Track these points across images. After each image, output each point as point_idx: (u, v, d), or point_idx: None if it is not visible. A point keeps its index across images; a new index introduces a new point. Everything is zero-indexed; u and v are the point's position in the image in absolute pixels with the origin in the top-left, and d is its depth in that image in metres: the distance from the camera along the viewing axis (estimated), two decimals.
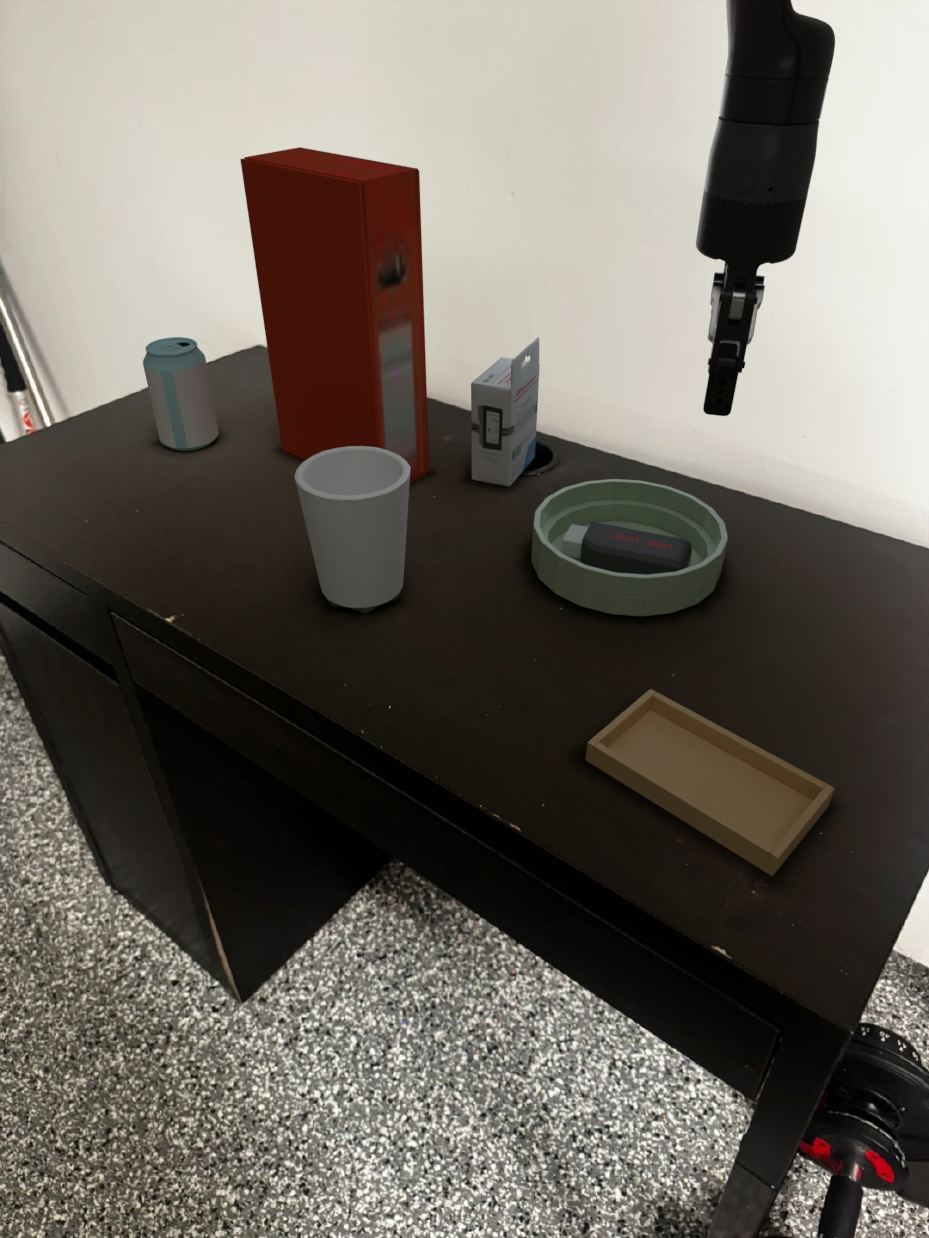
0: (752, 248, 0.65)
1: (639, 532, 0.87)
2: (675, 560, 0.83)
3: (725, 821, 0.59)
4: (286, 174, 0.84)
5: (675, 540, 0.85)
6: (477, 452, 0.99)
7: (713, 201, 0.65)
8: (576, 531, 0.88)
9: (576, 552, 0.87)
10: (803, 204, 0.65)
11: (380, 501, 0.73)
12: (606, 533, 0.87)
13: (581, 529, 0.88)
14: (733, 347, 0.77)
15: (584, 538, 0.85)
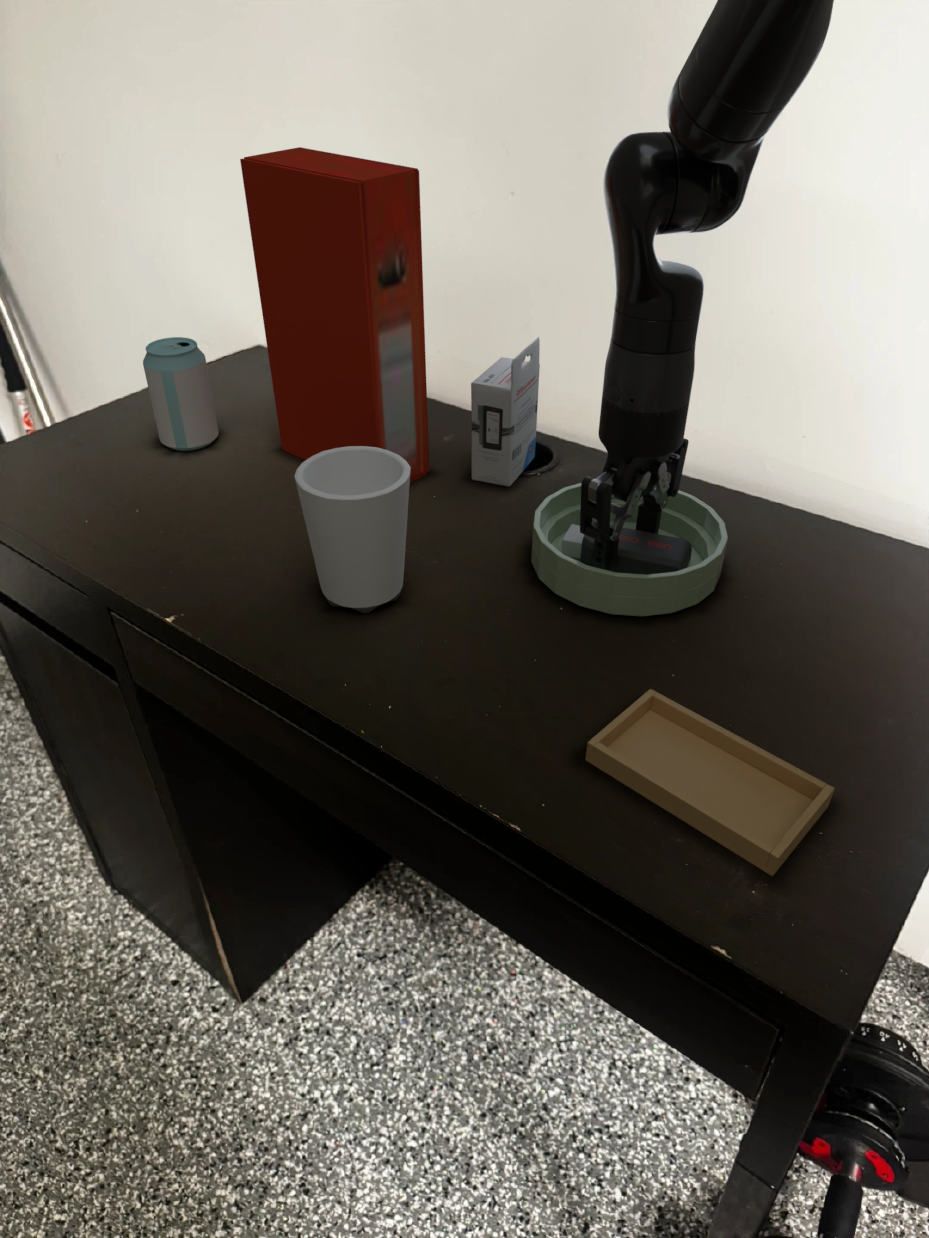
0: (621, 442, 0.76)
1: (639, 532, 0.87)
2: (675, 560, 0.83)
3: (725, 821, 0.59)
4: (286, 174, 0.84)
5: (675, 540, 0.85)
6: (477, 452, 0.99)
7: (602, 397, 0.77)
8: (576, 531, 0.88)
9: (576, 552, 0.87)
10: (672, 415, 0.75)
11: (380, 501, 0.73)
12: None
13: None
14: (653, 519, 0.87)
15: (584, 538, 0.85)
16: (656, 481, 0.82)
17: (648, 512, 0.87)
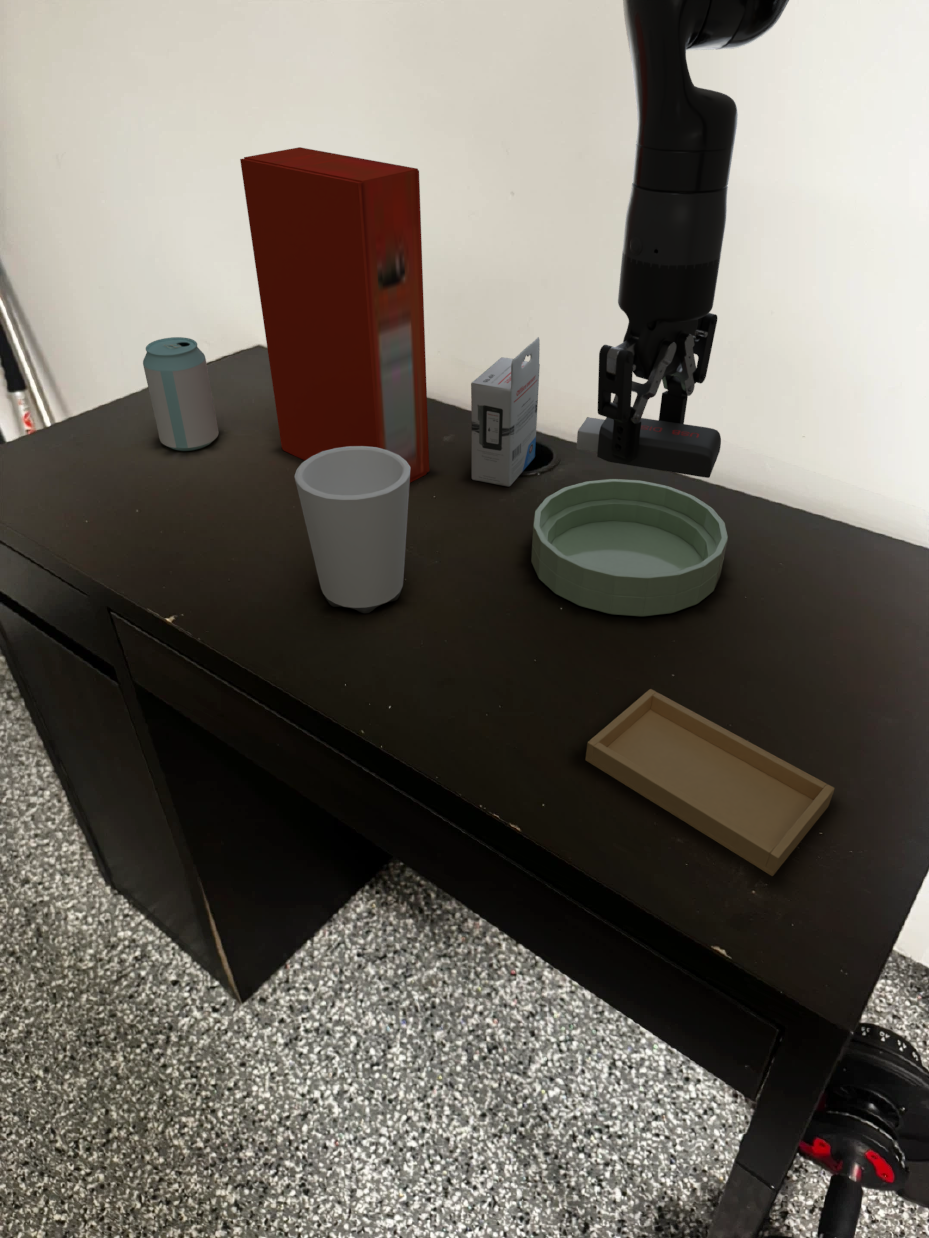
0: (643, 304, 0.68)
1: (662, 422, 0.78)
2: (703, 447, 0.75)
3: (725, 821, 0.59)
4: (286, 174, 0.84)
5: (703, 429, 0.77)
6: (477, 452, 0.99)
7: (622, 256, 0.69)
8: (593, 423, 0.80)
9: (593, 445, 0.79)
10: (701, 269, 0.66)
11: (380, 501, 0.73)
12: None
13: (598, 421, 0.80)
14: (678, 408, 0.78)
15: (602, 427, 0.77)
16: (682, 358, 0.74)
17: (672, 400, 0.78)
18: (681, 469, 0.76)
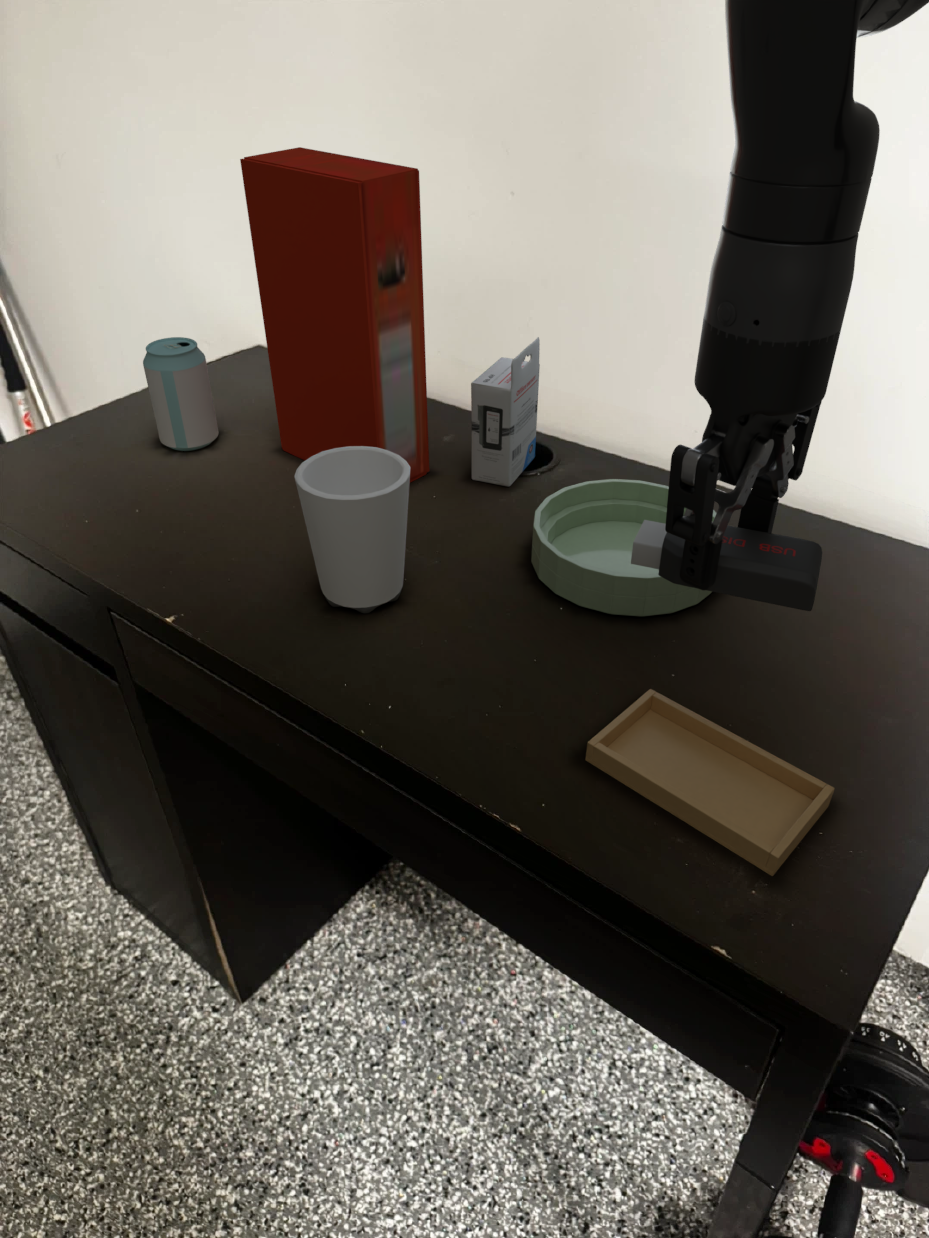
0: (734, 392, 0.50)
1: (745, 531, 0.60)
2: (804, 572, 0.56)
3: (725, 821, 0.59)
4: (286, 174, 0.84)
5: (799, 542, 0.59)
6: (477, 452, 0.99)
7: (703, 324, 0.51)
8: (652, 530, 0.61)
9: (653, 560, 0.60)
10: (817, 347, 0.48)
11: (380, 501, 0.73)
12: None
13: (659, 527, 0.61)
14: (765, 513, 0.60)
15: (666, 539, 0.59)
16: (778, 455, 0.55)
17: (759, 502, 0.60)
18: (773, 598, 0.57)
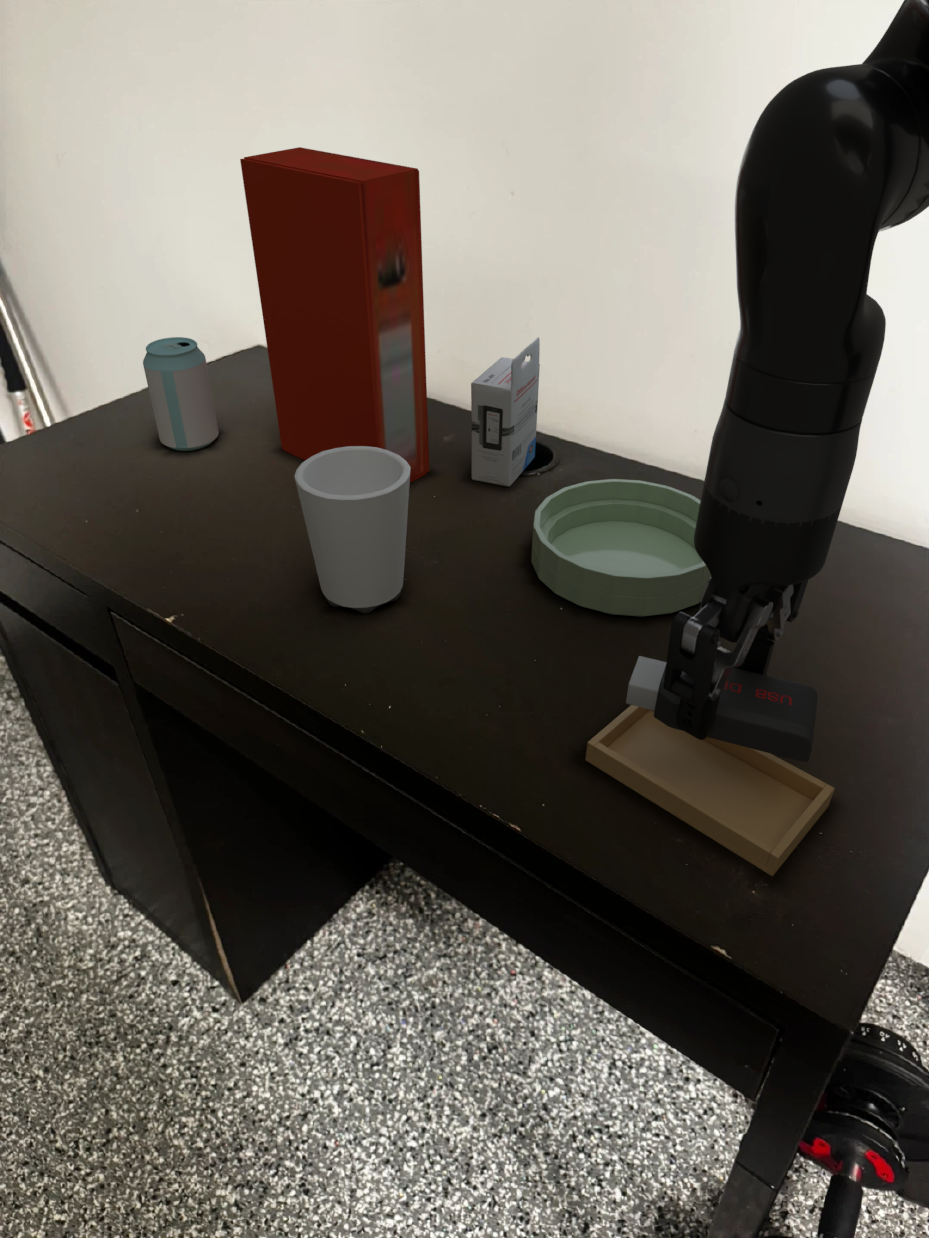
0: (735, 563, 0.49)
1: (740, 673, 0.59)
2: (801, 724, 0.56)
3: (725, 821, 0.59)
4: (286, 174, 0.84)
5: (795, 687, 0.58)
6: (477, 452, 0.99)
7: (704, 491, 0.50)
8: (647, 668, 0.60)
9: (648, 701, 0.59)
10: (820, 525, 0.47)
11: (380, 501, 0.73)
12: None
13: (654, 665, 0.61)
14: (761, 655, 0.59)
15: (662, 684, 0.58)
16: (776, 609, 0.55)
17: (754, 644, 0.59)
18: (769, 748, 0.57)
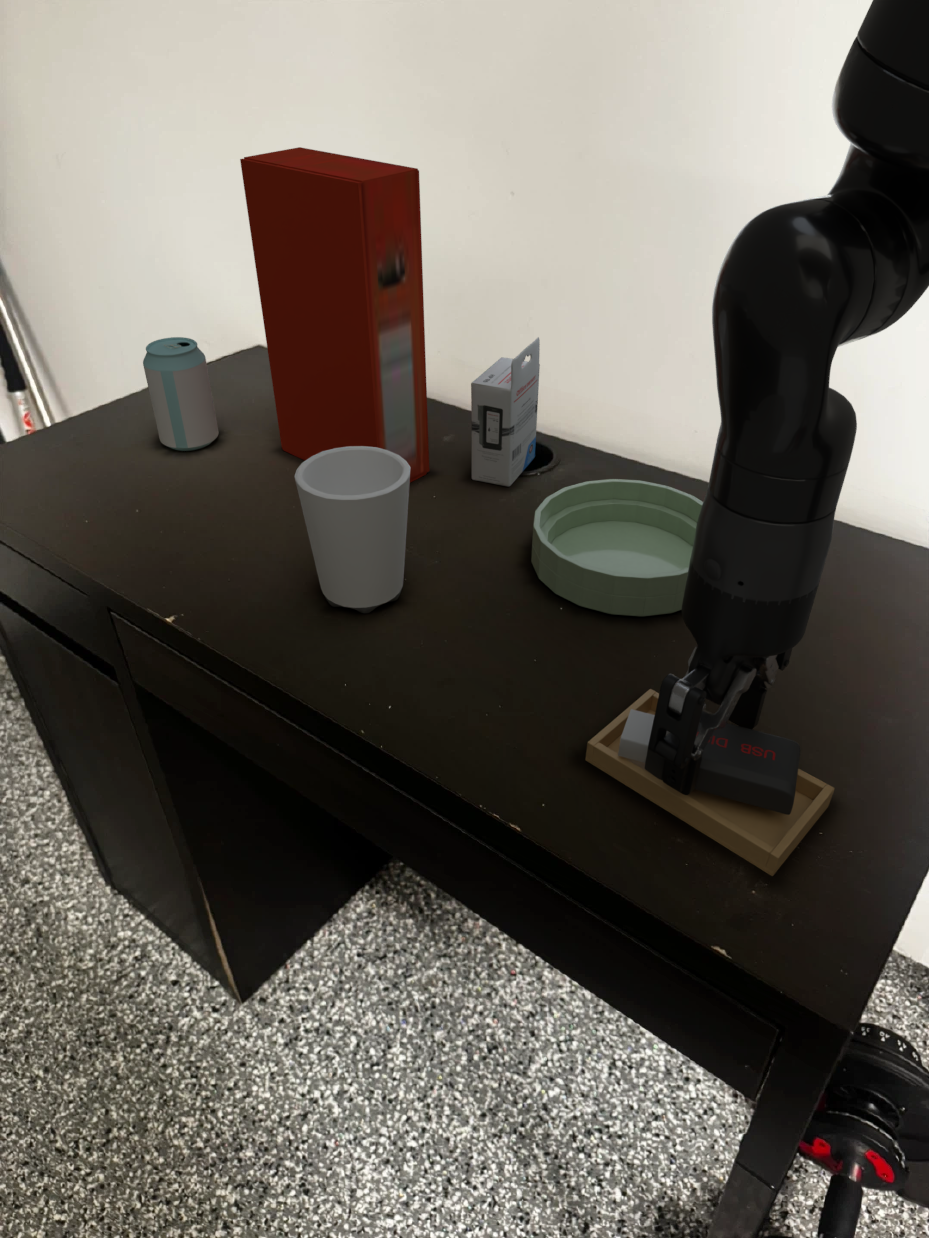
0: (719, 636, 0.52)
1: (727, 727, 0.62)
2: (783, 779, 0.59)
3: (725, 821, 0.59)
4: (286, 174, 0.84)
5: (779, 742, 0.61)
6: (477, 452, 0.99)
7: (690, 567, 0.53)
8: (638, 722, 0.64)
9: (639, 754, 0.63)
10: (798, 603, 0.50)
11: (380, 501, 0.73)
12: None
13: (645, 718, 0.64)
14: (754, 701, 0.63)
15: None
16: (762, 670, 0.58)
17: (748, 691, 0.63)
18: (753, 801, 0.60)
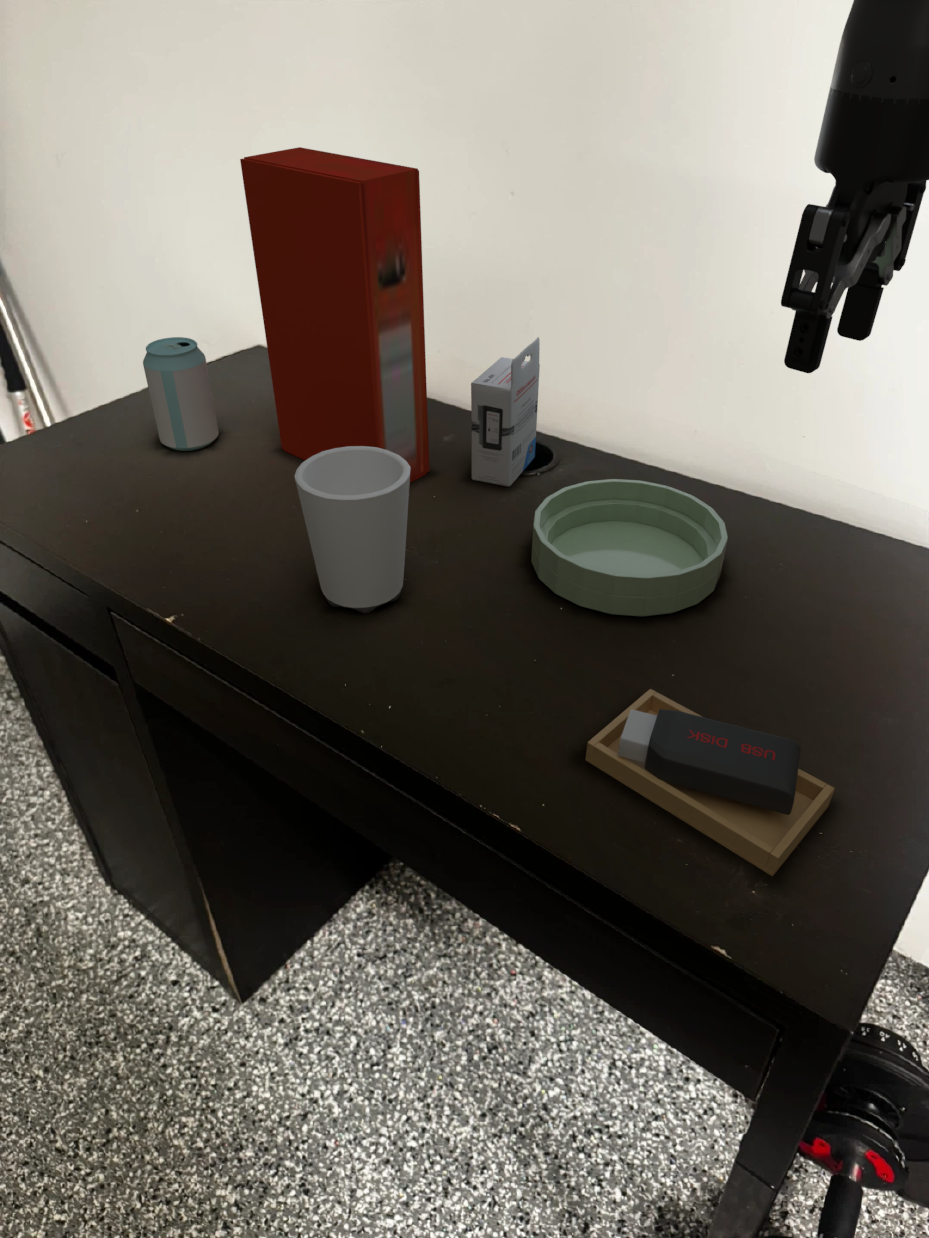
0: (863, 157, 0.52)
1: (727, 727, 0.62)
2: (783, 779, 0.59)
3: (725, 821, 0.59)
4: (286, 174, 0.84)
5: (779, 742, 0.61)
6: (477, 452, 0.99)
7: (831, 96, 0.53)
8: (638, 722, 0.64)
9: (639, 754, 0.63)
10: None
11: (380, 501, 0.73)
12: (681, 729, 0.62)
13: (645, 718, 0.64)
14: (870, 302, 0.62)
15: (652, 739, 0.61)
16: (889, 239, 0.58)
17: (864, 292, 0.62)
18: (753, 801, 0.60)
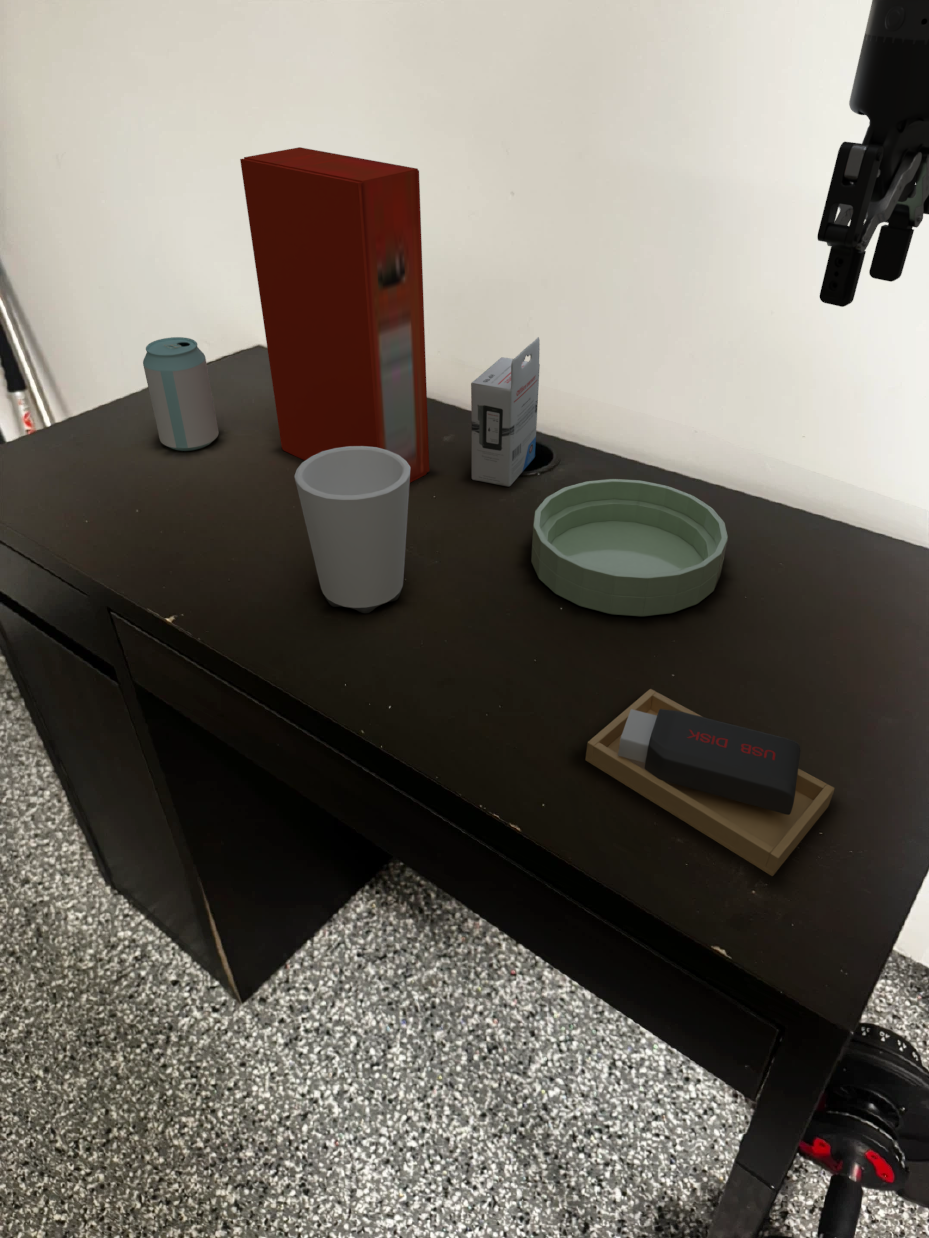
0: (895, 97, 0.56)
1: (727, 727, 0.62)
2: (783, 779, 0.59)
3: (725, 821, 0.59)
4: (286, 174, 0.84)
5: (779, 742, 0.61)
6: (477, 452, 0.99)
7: (865, 41, 0.57)
8: (638, 722, 0.64)
9: (639, 754, 0.63)
10: None
11: (380, 501, 0.73)
12: (681, 729, 0.62)
13: (645, 718, 0.64)
14: (901, 243, 0.66)
15: (652, 739, 0.61)
16: (919, 179, 0.61)
17: (895, 234, 0.66)
18: (753, 801, 0.60)
